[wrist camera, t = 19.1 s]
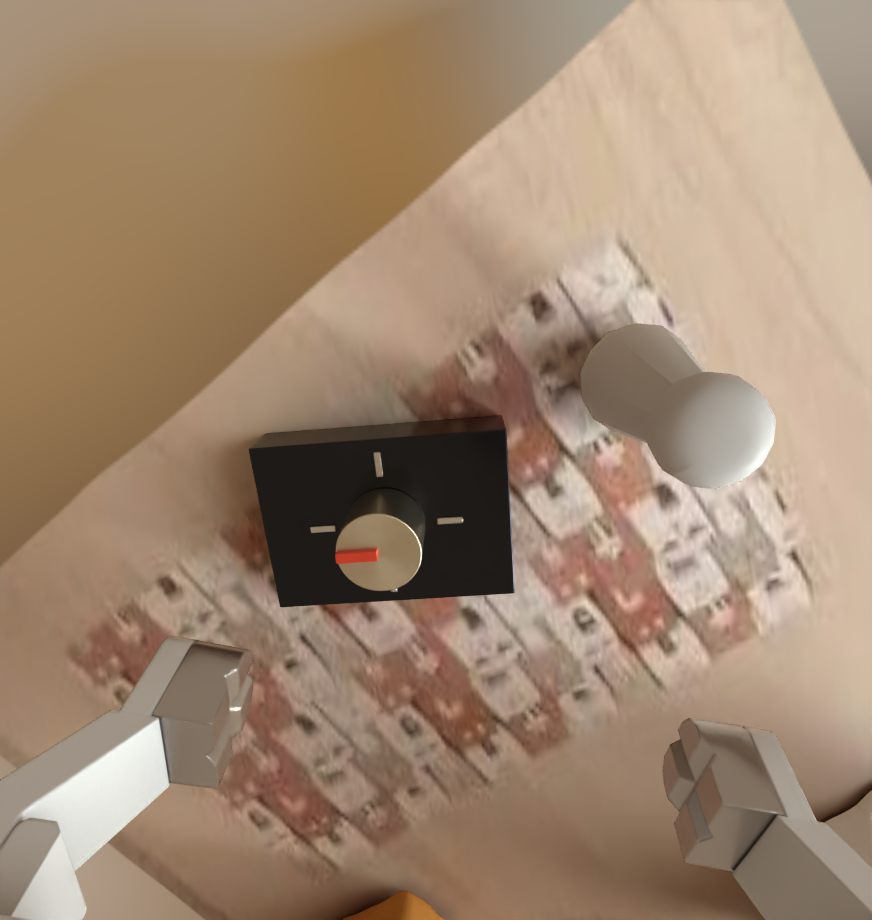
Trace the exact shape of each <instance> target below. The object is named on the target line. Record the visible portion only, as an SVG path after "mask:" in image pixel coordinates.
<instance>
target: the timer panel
mask: <svg viewBox="0 0 872 920" xmlns="http://www.w3.org/2000/svg"><path fill="white" fill-rule="evenodd" d="M249 454H250V459H251V463H252V468H253V473H254V478H255V483H256V488H257V493H258V498H259V503H260V508H261V513H262V518H263V523H264V528H265V533H266V538H267V543H268V548H269V553H270V558H271V563H272V568H273V573H274V578H275V583H276V588H277V593H278V598H279V603H280V607H292V606H309V605H326V604H342V603H359V602H375V601H392V600H409V599H425V598H442V597H459V596H475V595H492V594H508V593H515V585H514V566H513V547H512V527H511V508H510V489H509V470H508V451H507V432H506V427H505V424H504V420H503V417H502V416H501V415H499V416H486V417H473V418H461V419H448V420H435V421H422V422H409V423H396V424H383V425H371V426H358V427H345V428H332V429H319V430H306V431H293V432H280V433H268V434H264V435H263V436H262V437H261V438H260V439H259V440H258V441H257V442H256V443H255V444H254V445H253V446H252V447H250V448H249ZM375 489H393V490H397V491H400V492H403V493H405V494H406V495H408V496H409V497H411V498H412V499H413V500H414V501H415V502H416V503H417V504H418V506H419V507H420V509H421V511H422V513H423V515H424V519H425V533H424V542H423V551H422V560H421V564H420V567H419V569H418V571H417V573H416V574H415V575H414V577H413V578H412V579H411V580H410V581H409V582H407V583H406V584H404V585H402V586H401V587H398V588H396V589H392V590H388V591H374V590H369V589H366V588H363V587H360V586H358V585H357V584H355V583H353V582H352V581H351V580H350V579H348V577H347V576H346V575H345V574H344V573H343V571H342V570H341V568H340V566H339V564H336V558H335V553H336V543H337V539H338V537H339V534H340V532H341V529H342V527H343V525H344V522H345V520H346V517H347V515H348V513H349V510H350V508H351V506H352V505H353V503H354V502H355V501H356V500H357V499H358V498H359V497H360V496H362V495H363V494H365V493H367V492H369V491H372V490H375Z"/></svg>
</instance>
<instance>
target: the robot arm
mask: <svg viewBox="0 0 872 920" xmlns="http://www.w3.org/2000/svg"><path fill="white" fill-rule="evenodd" d="M251 665H252V651H251V650H247V649H242V648H236V647H231V646H226V645H220V644H215V643H209V642H204V641H199V640H193V639H187V638H181V637H175V636H169V637H168V638H167V639H166V640H165V641H163V642H162V644H161V645H160V647H159V648H158V650H157V651H156V653H155V655H154V656H153V658H152V659H151V661H150V663H149V664H148V666H147V667H146V669H145V671H144V672H143V674H142V675H141V677H140V678H139V680H138V682H137V683H136V685H135V686H134V688H133V690H132V691H131V693H130V694H129V696H128V697H127V699H126V701H125V702H124V704H123V705H122V707H121V709H120V710H119V711H115V710H110V711H108V712H107V713H105V714H103V715H102V716H100V717H99V718H97V719H96V720H94V721H92V722H91V723H89V724H88V725H86V726H84V727H83V728H81V729H80V730H78V731H76V732H75V733H73V734H72V735H70V736H69V737H67V738H65V739H64V740H62V741H61V742H59V743H57V744H56V745H54V746H53V747H51V748H50V749H48V750H46V751H45V752H43V753H42V754H40V755H38V756H37V757H35V758H34V759H32V760H30V761H29V762H27V763H26V764H24V765H23V766H21V767H19V768H18V769H16V770H15V771H13V772H11V773H10V774H8V775H7V776H5V777H3V778H2V779H0V920H82V919H83V917H84V915H85V913H86V911H87V907H86V903H85V899H84V896H83V894H82V890H81V888H80V885H79V882H78V879H77V876H76V873H75V871H76V870H77V869H78V868H79V867H80V866H82V864H84V863H85V862H86V861H87V860H88V859H89V858H90V857H91V856H93V855H94V854H95V853H96V852H97V851H98V850H99V849H100V848H101V847H103V846H104V845H105V844H106V843H107V842H108V841H109V840H110V839H111V838H113V837H114V836H115V835H116V834H117V833H118V832H119V831H120V830H121V829H123V828H124V827H125V826H126V825H127V824H128V823H129V822H130V821H131V820H132V819H134V818H135V817H136V816H137V815H138V814H139V813H140V812H141V811H142V810H144V809H145V808H146V807H147V806H148V805H149V804H150V803H151V802H152V801H154V800H155V799H156V798H157V797H158V796H159V795H160V794H161V793H162V792H164V791H165V790H166V789H167V788H168V787H169V783H175V784H183V785H190V786H198V787H206V788H214V789H218V787H219V785H220V783H221V780H222V778H223V775H224V773H225V770H226V768H227V766H228V763H229V761H230V758H231V756H232V738H233V737H234V736H236V735H237V734H238V733H240V732H241V731H242V729H243V726H244V724H245V721H246V718H247V716H248V712H249V708H250V704H251V701H252V694H253V678H252V677H251V676H250V675H249V674H248V672H249V670H250V667H251ZM678 731H679V735H680V738H681V739H680V740H678V741H676V742H674V743H672V744H671V745H670V746H669V748H668V750H667V752H666V754H665V756H664V764H663V780H664V786H665V790H666V794H667V798H668V799H669V801H670V802H671V803H672V804H673V805H674V806H675V808H676V809H677V810H678V811H679V814H678V816H677V818H676V820H675V822H674V825H675V829H676V833H677V836H678V840H679V844H680V847H681V851H682V855H683V859H684V862H685V863H689V864H694V865H699V866H705V867H710V868H715V869H721V870H726V871H731V872H733V873H732V875H733V876H734V878H735V879H736V881H737V882H738V883H739V885H740V886H741V887H742V889H743V890H744V892H745V893H746V894H747V896H748V897H749V899H750V900H751V901H752V903H753V904H754V905H755V907H756V908H757V910H758V911H759V912H760V914H761V915H762V917H763V918H764V919H765V920H872V790H871V791H870V792H869V793H868V794H867V795H866V796H865V797H864V798H863V799H862V800H861V801H860V802H859V803H858V804H857V805H856V806H854V807H852V808H851V809H849V810H847V811H846V812H844V813H842V814H840V815H838V816H836V817H834V818H832V819H829V820H828V821H826V822H824V823H823V822H818V821H817V820H816V818H815V816H814V814H813V812H812V810H811V808H810V806H809V804H808V802H807V799H806V797H805V795H804V793H803V791H802V789H801V787H800V785H799V783H798V780H797V778H796V776H795V774H794V772H793V770H792V768H791V766H790V764H789V761H788V759H787V757H786V755H785V753H784V751H783V749H782V747H781V745H780V743H779V740H778V738H777V737H776V736H775V735H774V734H773V733H772V732H771V731H768V730H762V729H755V728H749V727H741V726H739V725H733V724H726V723H719V722H712V721H705V720H698V719H691V718H688V719H686V720H684V721H683V722H682V724H681V726H680V727H679V729H678Z"/></svg>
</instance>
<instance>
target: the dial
mask: <svg viewBox="0 0 872 920" xmlns="http://www.w3.org/2000/svg"><path fill="white" fill-rule="evenodd" d="M424 533H425V519H424V515H423V513H422V511H421V509H420V507H419V506H418V504H417V503H416V502H415V501H414V500H413V499H412V498H411V497H409V496H408V495H406V494H405V493H403V492H400V491H397V490H393V489H375V490H372V491H369V492H367V493H365V494H363V495H362V496H360V497H359V498H358V499H357V500H356V501H355V502H354V503H353V505H352V506H351V508H350V510H349V513H348V515H347V517H346V520H345V522H344V525H343V527H342V529H341V532H340V534H339V537H338V539H337V543H336V553H335V558H336V564H339V566H340V568H341V570H342V571H343V573H344V574H345V575H346V576H347V577H348V579H350V580H351V581H352V582H353V583H355V584H357V585H358V586H360V587H363V588H366V589H369V590H374V591H388V590H392V589H396V588H398V587H401V586H402V585H404V584H406V583H407V582H409V581H410V580H411V579H412V578H413V577H414V575H415V574H416V573H417V571H418V569H419V567H420V564H421V560H422V551H423V542H424Z"/></svg>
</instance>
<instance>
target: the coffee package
mask: <svg viewBox="0 0 872 920" xmlns="http://www.w3.org/2000/svg"><path fill="white" fill-rule="evenodd" d="M342 920H443V918H441V917H440V916H439V915H438V914H437V913H436V912H435V911H434V910H433V909H432V907H431V906H430V905H429V904H428V903H427V902H425V901H424V900H423V899H421V898H418V897H416V896H414V895H413V894H411V893H410V892H408V891H401V892H399V893H397V894H396V895H394V896H392V897H391V898H389V899H387V900H385V901H384V902H382V903H380V904H378V905H374V906H372V907H370V908H368V909H366V910H364V911H362V912H360V913H358V914H355V915H352V916H348V917H346V918H344V919H342Z"/></svg>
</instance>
